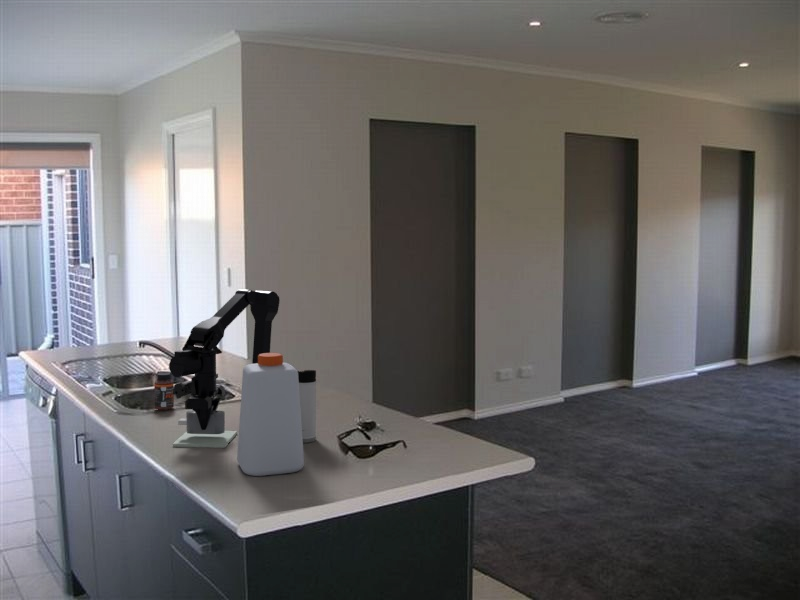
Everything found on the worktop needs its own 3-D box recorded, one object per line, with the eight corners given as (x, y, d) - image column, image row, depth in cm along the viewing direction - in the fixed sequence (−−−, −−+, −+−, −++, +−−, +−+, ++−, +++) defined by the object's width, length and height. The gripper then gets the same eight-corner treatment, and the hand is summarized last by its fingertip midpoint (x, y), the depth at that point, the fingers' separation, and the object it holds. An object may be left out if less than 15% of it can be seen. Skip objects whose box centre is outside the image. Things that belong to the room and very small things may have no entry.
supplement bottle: (168, 411, 247) (167, 375, 246) (150, 409, 248) (150, 374, 247) (177, 406, 253) (176, 372, 251) (160, 405, 254) (159, 371, 253)
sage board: (237, 433, 222) (237, 430, 222) (224, 447, 208) (224, 444, 208) (188, 432, 222) (188, 429, 222) (172, 446, 208) (172, 443, 208)
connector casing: (226, 430, 217) (226, 410, 216) (222, 434, 212) (222, 414, 212) (182, 429, 217) (181, 409, 217) (177, 433, 213) (176, 413, 212)
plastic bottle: (307, 472, 188) (308, 358, 185) (244, 479, 183) (244, 361, 180) (293, 455, 202) (293, 348, 200) (234, 460, 197) (234, 351, 194)
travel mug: (298, 444, 212) (298, 371, 210) (289, 438, 218) (290, 367, 216) (319, 441, 215) (320, 370, 213) (310, 435, 221) (311, 366, 219)
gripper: (186, 364, 223) (186, 418, 224) (165, 377, 204) (165, 436, 206) (225, 365, 222) (225, 419, 224) (207, 378, 204) (208, 437, 205)
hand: (205, 427), depth 215 cm, fingers closed on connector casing, 4 cm apart
